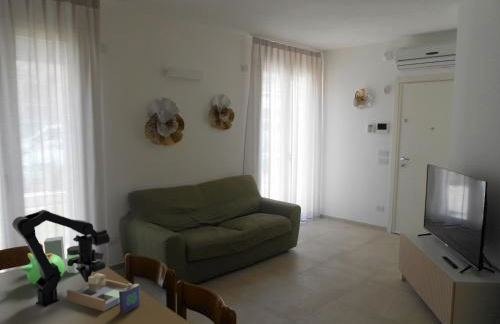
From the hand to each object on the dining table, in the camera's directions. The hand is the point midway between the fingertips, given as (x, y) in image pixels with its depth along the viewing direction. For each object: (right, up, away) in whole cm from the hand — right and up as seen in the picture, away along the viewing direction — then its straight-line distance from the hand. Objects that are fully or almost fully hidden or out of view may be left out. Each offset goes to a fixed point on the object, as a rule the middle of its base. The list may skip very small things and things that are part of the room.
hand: (87, 281), depth 169 cm
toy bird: (-23, -3, +7) cm, 24 cm away
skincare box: (-29, -1, +28) cm, 40 cm away
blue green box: (+26, -5, -18) cm, 32 cm away
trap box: (+10, -4, -8) cm, 13 cm away
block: (+6, -1, -3) cm, 7 cm away
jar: (-16, -2, +23) cm, 28 cm away
